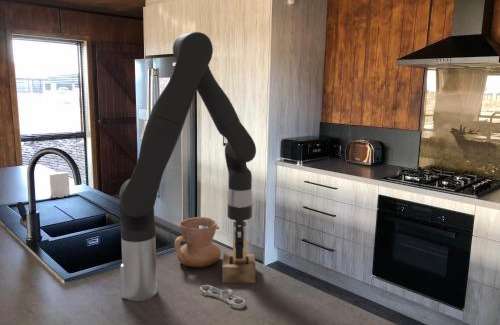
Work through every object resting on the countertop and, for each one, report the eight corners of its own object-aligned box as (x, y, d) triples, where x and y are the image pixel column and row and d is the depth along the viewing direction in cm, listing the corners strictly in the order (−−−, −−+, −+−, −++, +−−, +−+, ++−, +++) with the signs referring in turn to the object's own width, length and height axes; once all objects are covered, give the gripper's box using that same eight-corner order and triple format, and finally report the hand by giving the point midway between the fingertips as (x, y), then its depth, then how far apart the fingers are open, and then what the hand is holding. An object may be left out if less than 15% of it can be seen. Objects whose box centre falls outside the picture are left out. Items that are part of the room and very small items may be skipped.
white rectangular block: (66, 192, 223) (65, 170, 221) (72, 195, 217) (70, 173, 214) (49, 194, 218) (47, 172, 215) (53, 198, 211) (52, 175, 209)
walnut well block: (222, 282, 124) (222, 267, 123) (223, 268, 134) (223, 253, 133) (255, 282, 124) (255, 267, 123) (254, 268, 134) (254, 253, 133)
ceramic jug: (206, 249, 149) (205, 211, 146) (232, 261, 139) (231, 221, 136) (163, 264, 137) (161, 223, 134) (188, 278, 127) (186, 235, 124)
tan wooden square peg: (232, 272, 127) (233, 229, 124) (233, 266, 131) (233, 224, 128) (245, 272, 127) (246, 229, 124) (245, 266, 131) (246, 224, 128)
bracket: (226, 309, 107) (197, 285, 119) (226, 316, 107) (197, 291, 119) (249, 301, 111) (219, 278, 123) (249, 307, 112) (219, 284, 123)
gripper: (228, 196, 132) (228, 246, 135) (226, 209, 118) (226, 265, 121) (251, 196, 132) (250, 246, 135) (252, 209, 118) (251, 265, 121)
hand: (239, 255), depth 128 cm, fingers closed on tan wooden square peg, 4 cm apart
